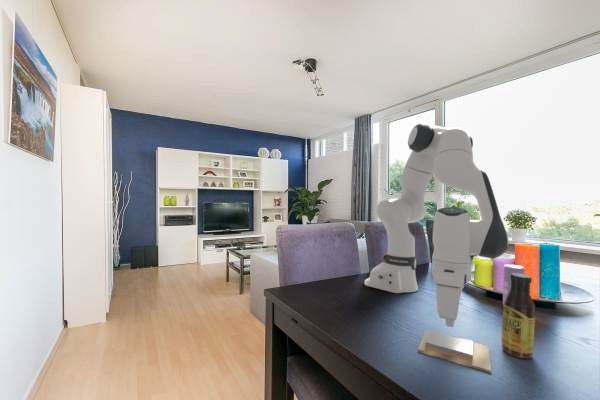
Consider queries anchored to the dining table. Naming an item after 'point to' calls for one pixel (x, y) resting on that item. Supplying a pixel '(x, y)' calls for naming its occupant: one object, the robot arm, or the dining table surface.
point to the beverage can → (506, 277)
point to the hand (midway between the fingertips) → (450, 324)
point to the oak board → (479, 359)
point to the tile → (450, 345)
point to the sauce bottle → (518, 318)
